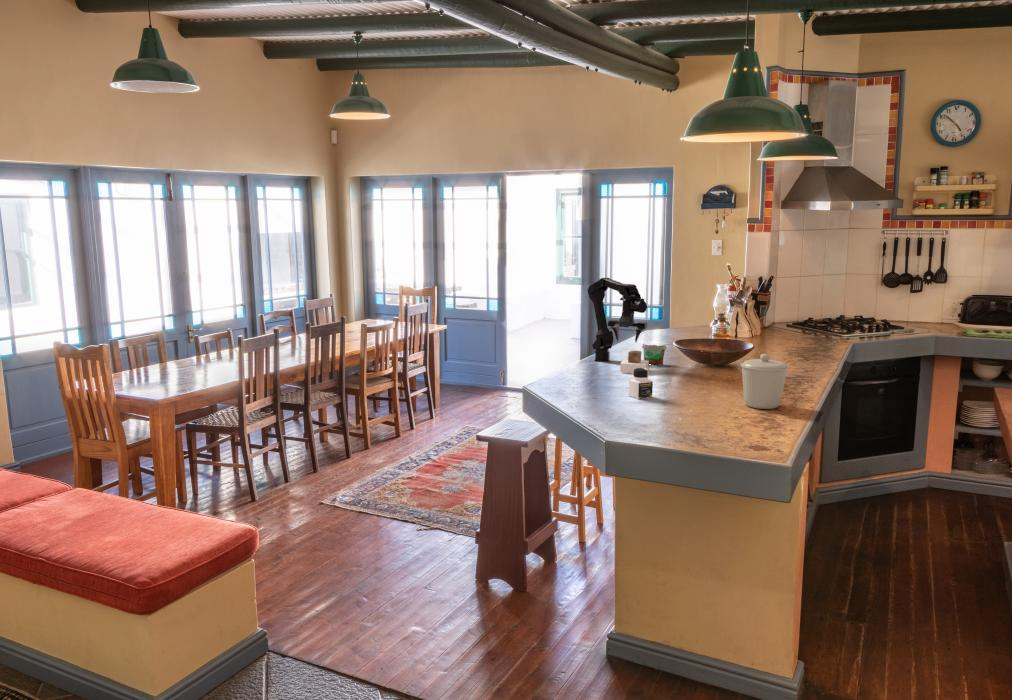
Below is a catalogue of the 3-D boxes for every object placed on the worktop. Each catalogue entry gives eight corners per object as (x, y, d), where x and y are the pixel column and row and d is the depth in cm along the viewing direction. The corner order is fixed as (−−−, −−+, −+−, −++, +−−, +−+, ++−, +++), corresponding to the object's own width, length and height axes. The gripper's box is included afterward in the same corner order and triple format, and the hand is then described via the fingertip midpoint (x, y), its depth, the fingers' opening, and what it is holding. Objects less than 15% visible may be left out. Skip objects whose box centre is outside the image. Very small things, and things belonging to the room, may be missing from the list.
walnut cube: (628, 362, 380) (628, 352, 379) (630, 360, 385) (631, 350, 384) (638, 363, 378) (638, 352, 377) (641, 361, 383) (641, 351, 382)
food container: (638, 364, 400) (638, 344, 398) (642, 362, 405) (642, 342, 404) (662, 366, 394) (662, 346, 393) (665, 364, 400) (666, 344, 398)
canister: (779, 414, 302) (783, 359, 298) (732, 408, 311) (735, 355, 308) (790, 404, 317) (794, 352, 313) (745, 399, 326) (748, 348, 323)
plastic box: (620, 373, 378) (620, 363, 377) (623, 369, 389) (624, 359, 389) (645, 375, 375) (645, 365, 374) (648, 370, 386) (648, 360, 385)
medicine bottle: (638, 399, 325) (639, 370, 323) (628, 396, 331) (628, 367, 329) (652, 397, 328) (653, 369, 326) (641, 394, 334) (642, 366, 332)
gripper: (605, 310, 386) (603, 342, 389) (643, 313, 378) (641, 346, 381) (611, 308, 396) (610, 338, 399) (648, 310, 388) (646, 342, 391)
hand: (626, 341), depth 392 cm, fingers open, 9 cm apart
